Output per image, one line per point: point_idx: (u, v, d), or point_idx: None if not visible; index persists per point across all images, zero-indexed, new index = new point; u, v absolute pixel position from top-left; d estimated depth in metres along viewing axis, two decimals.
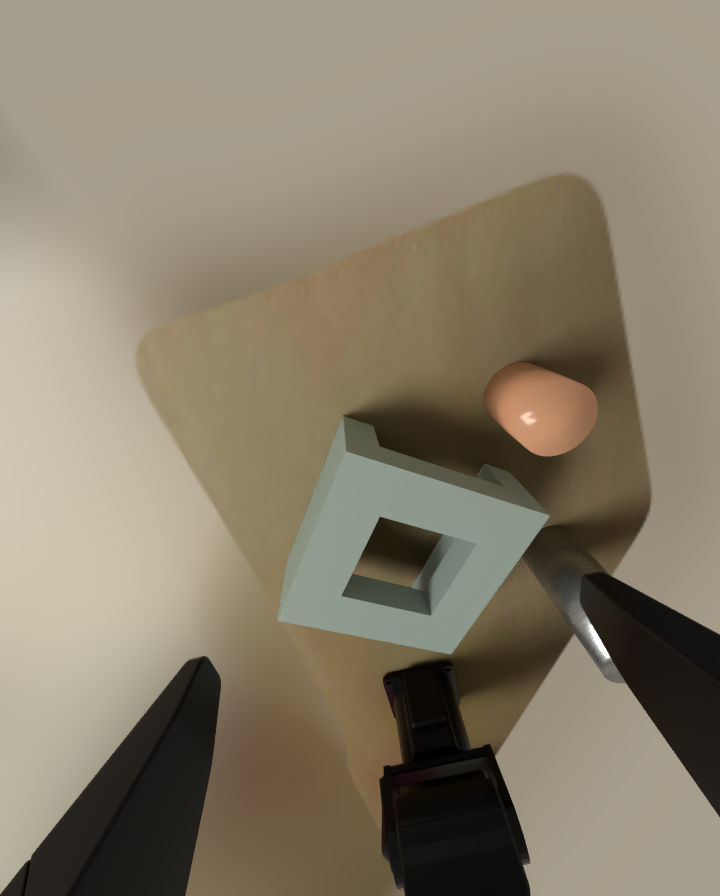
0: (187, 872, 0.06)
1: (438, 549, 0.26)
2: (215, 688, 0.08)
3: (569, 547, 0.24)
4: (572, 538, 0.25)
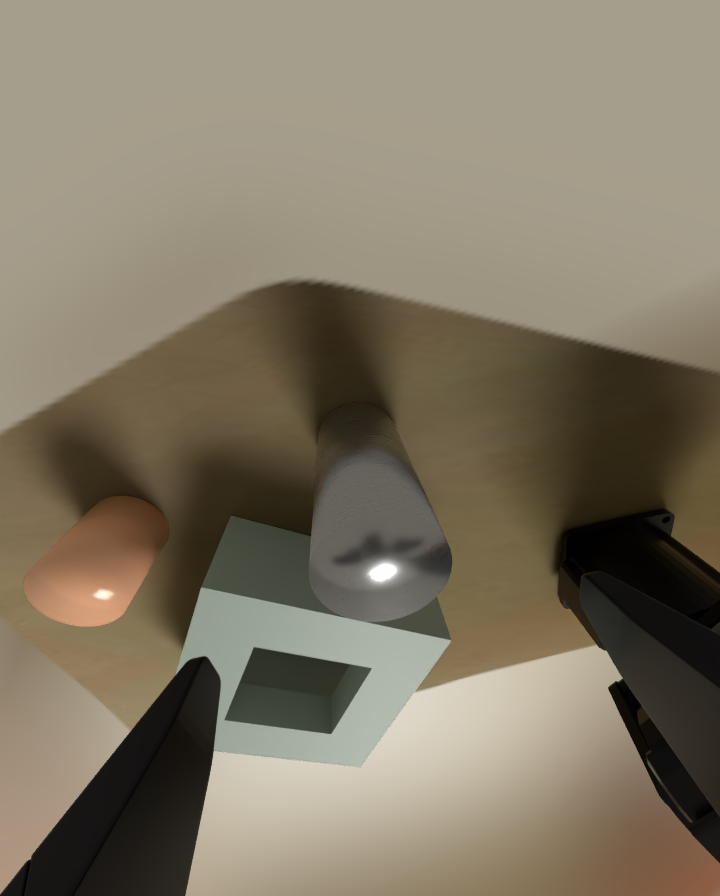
0: (187, 872, 0.06)
1: None
2: (215, 688, 0.08)
3: None
4: (319, 437, 0.16)
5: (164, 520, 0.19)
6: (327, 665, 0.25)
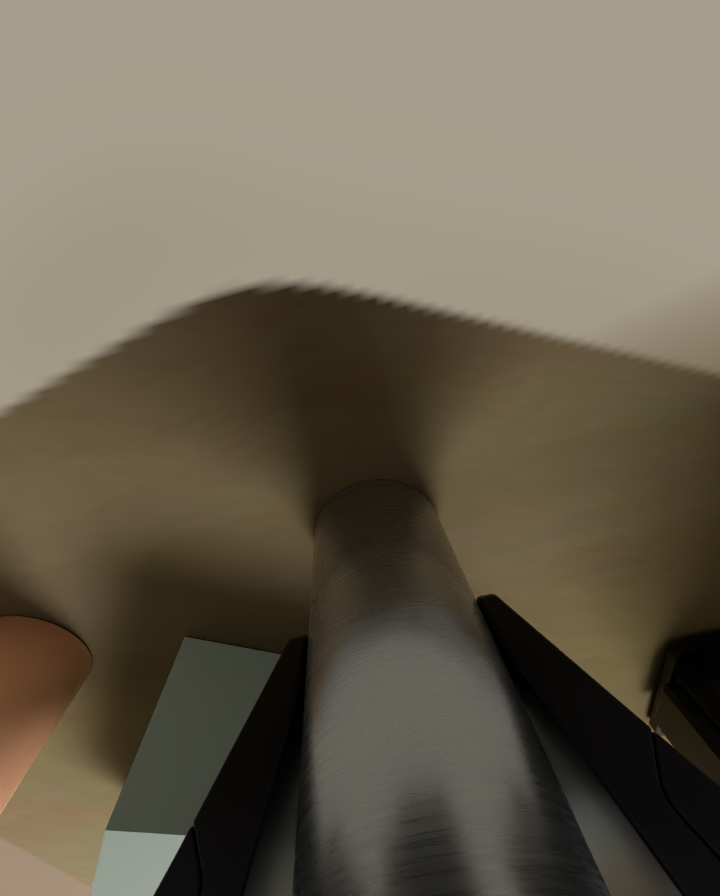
0: None
1: None
2: None
3: None
4: (317, 544, 0.10)
5: (81, 647, 0.12)
6: None
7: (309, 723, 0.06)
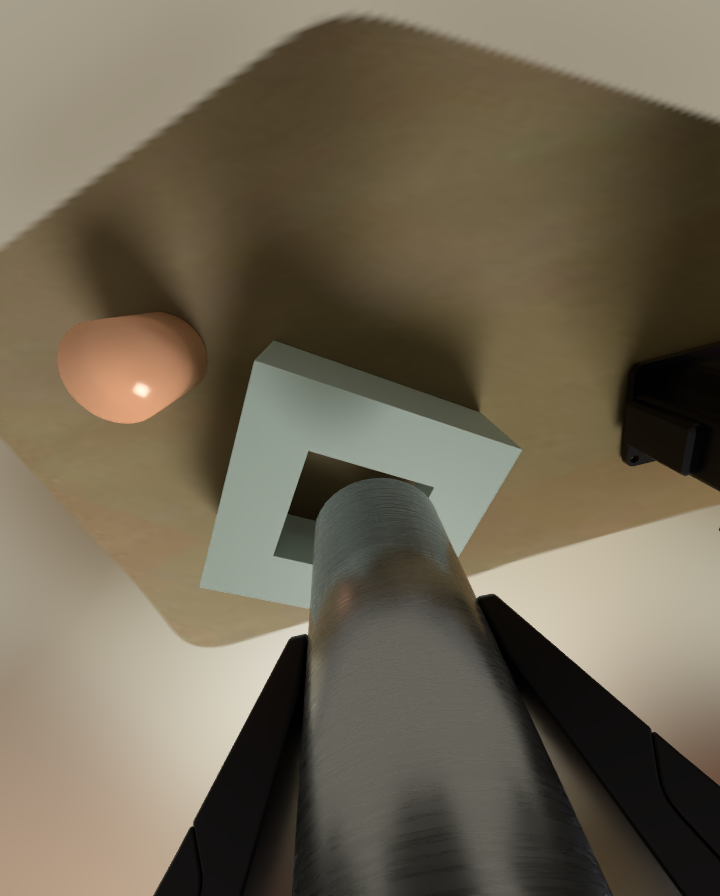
0: None
1: None
2: None
3: None
4: (317, 542, 0.10)
5: (201, 341, 0.18)
6: None
7: (309, 721, 0.06)
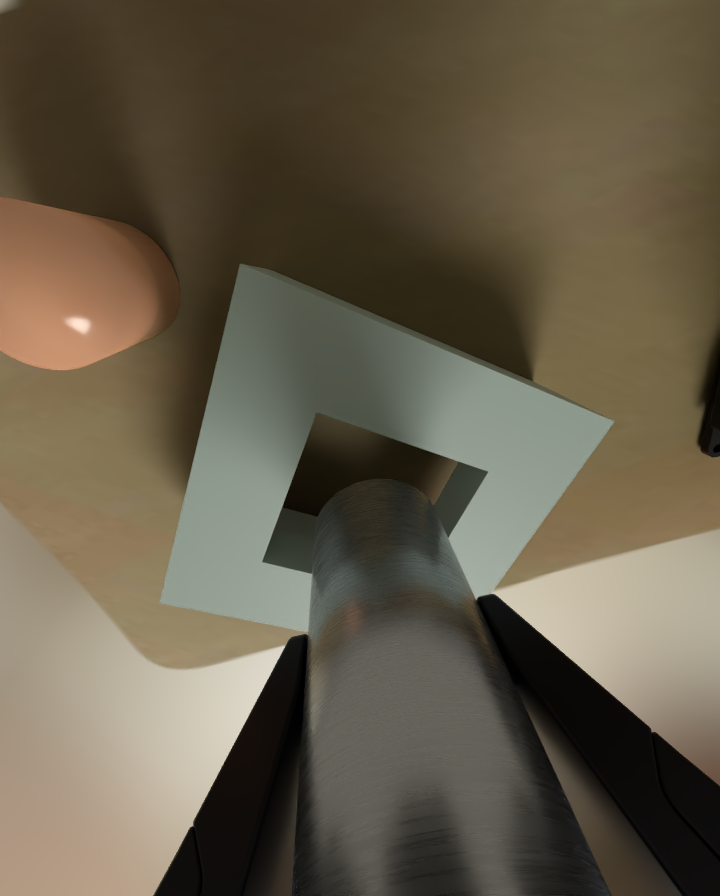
0: None
1: None
2: None
3: None
4: (316, 543, 0.10)
5: (168, 261, 0.13)
6: None
7: (308, 722, 0.06)
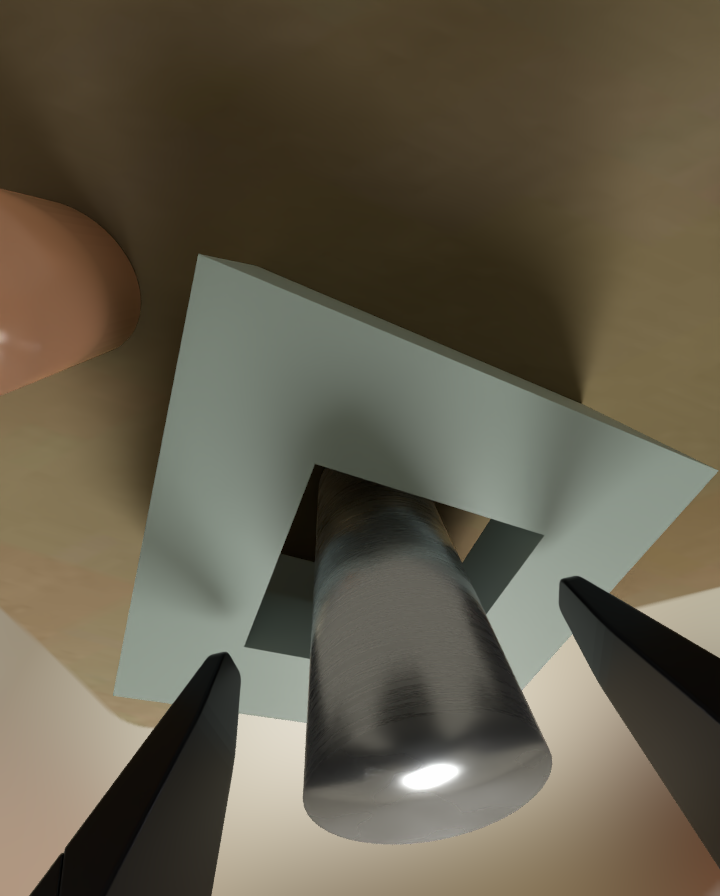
0: (213, 867, 0.06)
1: None
2: (236, 683, 0.08)
3: None
4: (320, 493, 0.12)
5: (118, 248, 0.10)
6: None
7: (318, 596, 0.08)
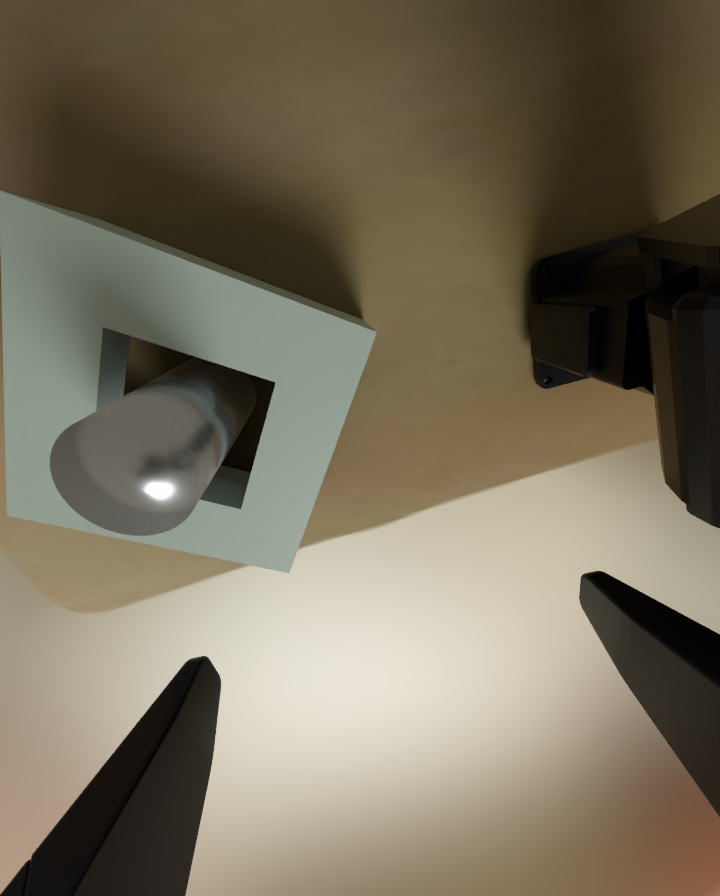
0: (187, 872, 0.06)
1: None
2: (215, 688, 0.08)
3: None
4: None
5: None
6: None
7: None
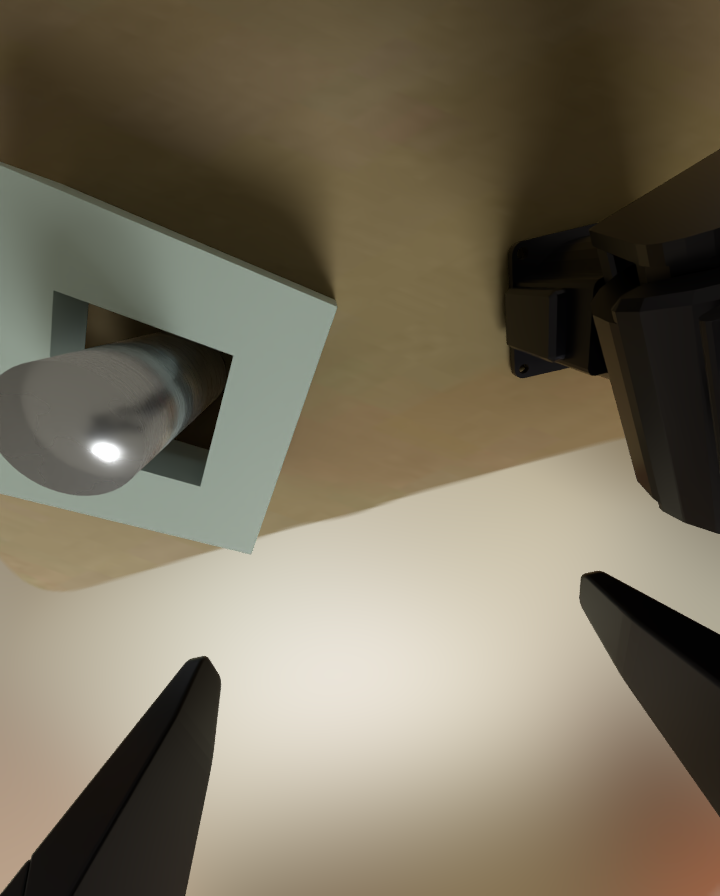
0: (187, 873, 0.06)
1: None
2: (215, 688, 0.08)
3: None
4: None
5: None
6: None
7: None
